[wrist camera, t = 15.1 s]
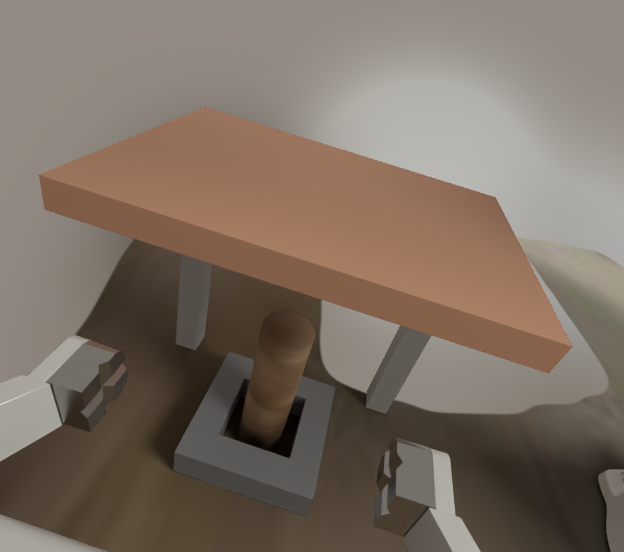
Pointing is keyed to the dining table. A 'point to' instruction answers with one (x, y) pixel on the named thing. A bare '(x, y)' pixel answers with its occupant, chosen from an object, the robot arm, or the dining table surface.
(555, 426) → the dining table surface
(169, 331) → the dining table surface
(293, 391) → the peg
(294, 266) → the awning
